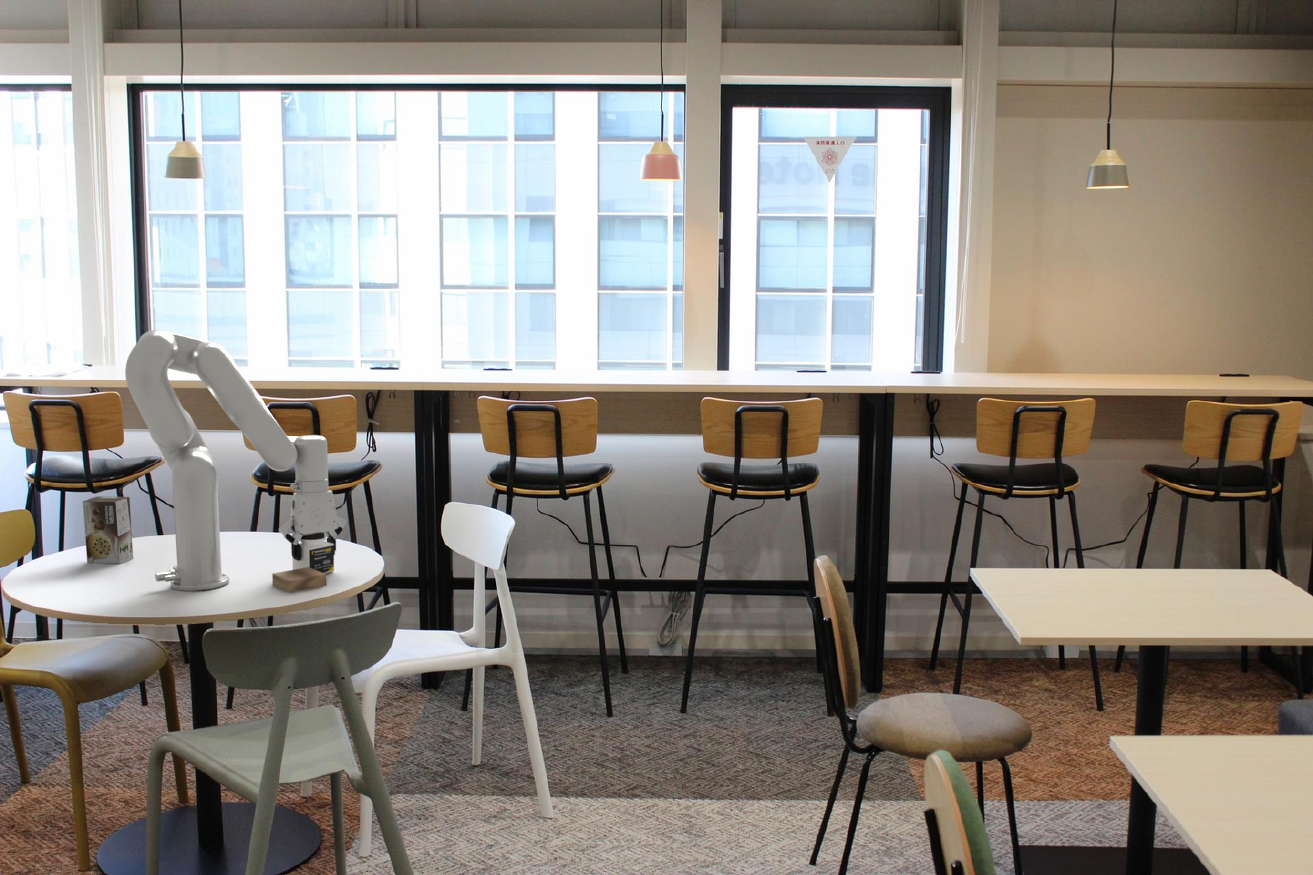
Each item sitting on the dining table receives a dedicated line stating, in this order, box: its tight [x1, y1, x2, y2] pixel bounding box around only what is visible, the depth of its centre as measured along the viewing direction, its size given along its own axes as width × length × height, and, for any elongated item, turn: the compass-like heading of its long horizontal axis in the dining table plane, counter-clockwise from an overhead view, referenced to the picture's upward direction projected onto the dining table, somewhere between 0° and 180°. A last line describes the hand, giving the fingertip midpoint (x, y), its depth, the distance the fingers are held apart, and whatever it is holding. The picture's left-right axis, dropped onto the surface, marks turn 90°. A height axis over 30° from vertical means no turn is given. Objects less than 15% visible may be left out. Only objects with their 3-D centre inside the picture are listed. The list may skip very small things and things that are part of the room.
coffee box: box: [82, 496, 134, 565], centre depth 274 cm, size 9×6×16 cm
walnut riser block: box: [271, 567, 328, 593], centre depth 254 cm, size 9×9×3 cm
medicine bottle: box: [291, 532, 335, 574], centre depth 264 cm, size 7×7×12 cm
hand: (314, 556), depth 264 cm, fingers closed on medicine bottle, 8 cm apart
